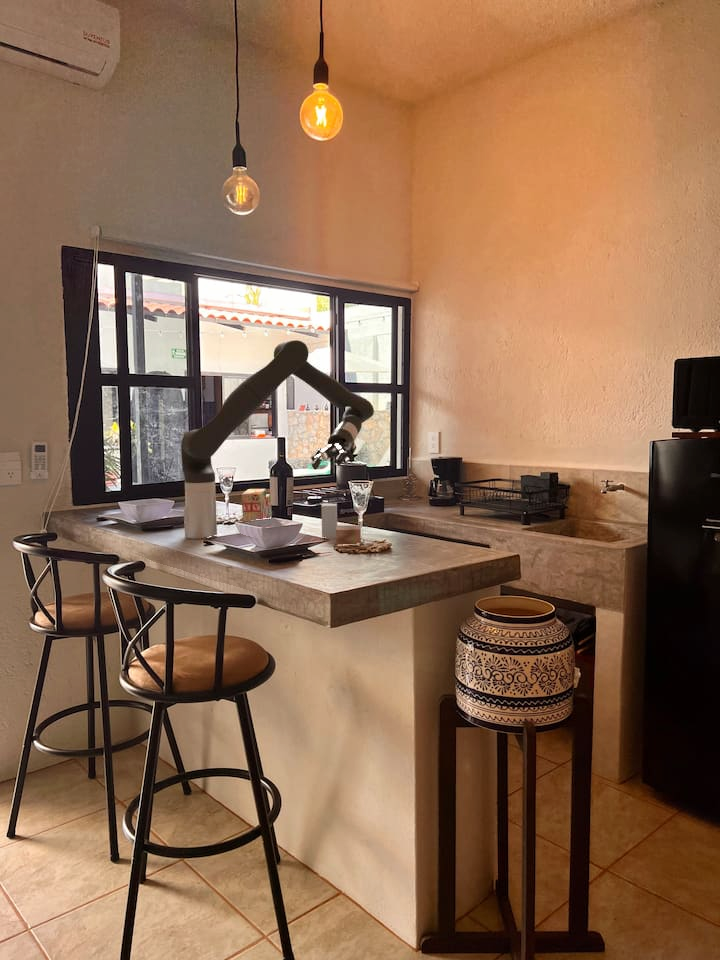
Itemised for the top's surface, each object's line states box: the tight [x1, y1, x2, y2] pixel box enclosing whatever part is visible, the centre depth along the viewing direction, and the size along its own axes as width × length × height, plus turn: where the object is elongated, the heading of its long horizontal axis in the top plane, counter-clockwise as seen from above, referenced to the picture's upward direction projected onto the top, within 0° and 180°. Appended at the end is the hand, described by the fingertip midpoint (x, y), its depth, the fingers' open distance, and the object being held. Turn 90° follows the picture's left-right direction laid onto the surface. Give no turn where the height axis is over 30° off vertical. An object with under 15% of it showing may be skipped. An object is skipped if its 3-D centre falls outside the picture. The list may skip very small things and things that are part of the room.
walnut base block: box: [335, 524, 362, 545], centre depth 200 cm, size 7×7×5 cm
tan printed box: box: [241, 488, 272, 523], centre depth 236 cm, size 21×6×12 cm, turn 179°
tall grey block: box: [320, 503, 338, 539], centre depth 210 cm, size 4×4×10 cm
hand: (325, 465), depth 212 cm, fingers open, 8 cm apart
